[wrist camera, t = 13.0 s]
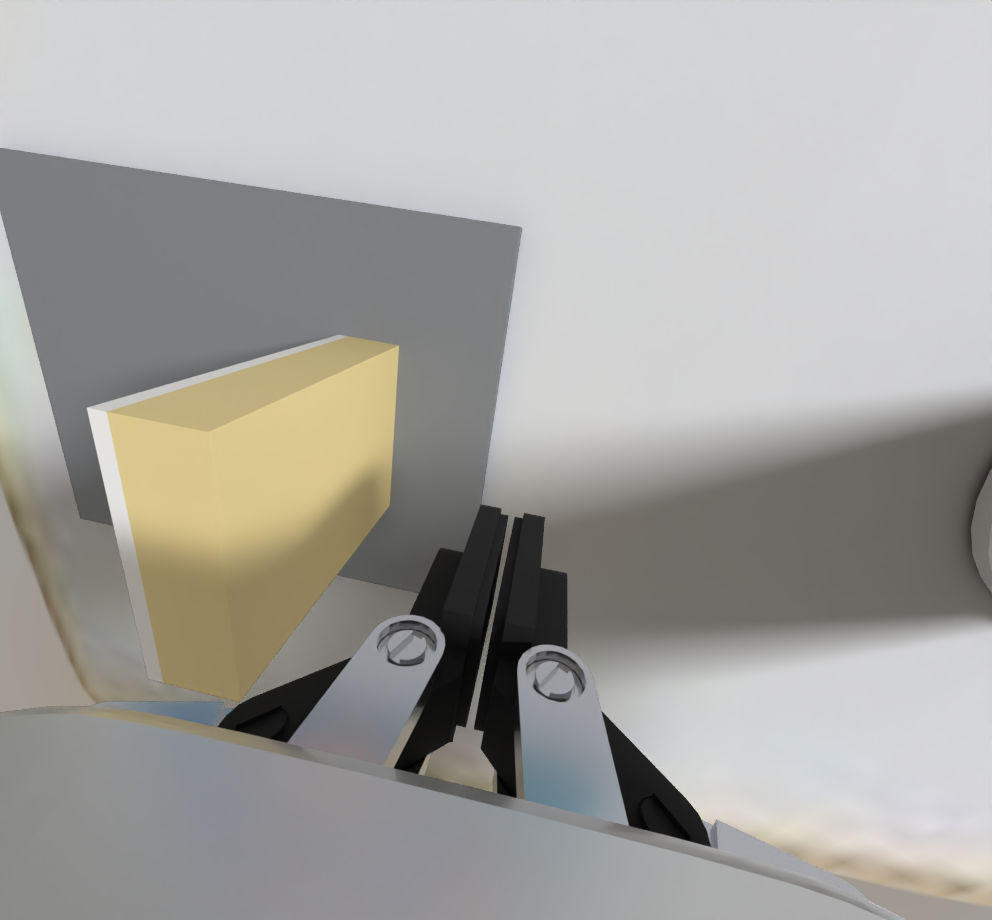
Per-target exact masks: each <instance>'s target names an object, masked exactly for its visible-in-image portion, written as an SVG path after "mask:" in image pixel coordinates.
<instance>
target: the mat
mask: <svg viewBox="0 0 992 920" xmlns="http://www.w3.org/2000/svg"><path fill="white" fill-rule="evenodd" d="M0 212H1V215H2V219H3V223H4V227H5V231H6V235H7V238H8V242H9V246H10V250H11V254H12V258H13V261H14V265H15V269H16V273H17V277H18V281H19V284H20V288H21V292H22V296H23V300H24V304H25V307H26V311H27V315H28V319H29V323H30V327H31V330H32V334H33V338H34V342H35V346H36V350H37V353H38V357H39V361H40V365H41V369H42V373H43V376H44V380H45V384H46V388H47V392H48V396H49V399H50V403H51V407H52V411H53V415H54V419H55V422H56V426H57V430H58V434H59V438H60V442H61V445H62V449H63V453H64V457H65V461H66V465H67V468H68V472H69V476H70V480H71V484H72V488H73V491H74V495H75V499H76V503H77V507H78V511H79V515H80V518H82V519H86V520H91V521H95V522H100V523H104V524H109V525H113V522H112V517H111V513H110V508H109V504H108V500H107V495H106V491H105V486H104V482H103V478H102V473H101V469H100V464H99V460H98V455H97V451H96V447H95V442H94V438H93V433H92V429H91V425H90V420H89V416H88V411H87V408H88V407H91V406H95V405H98V404H101V403H105V402H108V401H112V400H115V399H119V398H122V397H126V396H129V395H132V394H136V393H139V392H143V391H146V390H150V389H153V388H157V387H160V386H163V385H167V384H170V383H174V382H177V381H181V380H184V379H188V378H191V377H194V376H198V375H201V374H205V373H208V372H212V371H215V370H219V369H222V368H225V367H229V366H232V365H236V364H239V363H243V362H246V361H250V360H253V359H257V358H260V357H263V356H267V355H270V354H274V353H277V352H281V351H284V350H288V349H291V348H294V347H298V346H301V345H305V344H308V343H312V342H315V341H319V340H322V339H325V338H329V337H332V336H336V335H343V336H349V337H355V338H360V339H366V340H371V341H377V342H383V343H388V344H394V345H399V355H398V372H397V389H396V407H395V424H394V441H393V458H392V475H391V492H390V506H389V507H388V508H387V510H386V511H385V512H384V514H383V515H382V516H381V518H380V519H379V520H378V522H377V523H376V524H375V525H374V527H373V528H372V529H371V531H370V532H369V533H368V535H367V536H366V537H365V539H364V540H363V541H362V543H361V544H360V545H359V546H358V548H357V549H356V550H355V552H354V553H353V554H352V556H351V557H350V558H349V560H348V561H347V562H346V564H345V565H344V566H343V567H342V569H341V570H340V571H339V573H338V574H337V575H339V576H344V577H348V578H353V579H357V580H362V581H366V582H371V583H375V584H380V585H384V586H389V587H393V588H398V589H402V590H407V591H411V592H416V593H419V592H420V590H421V588H422V586H423V583H424V581H425V579H426V577H427V575H428V572H429V570H430V568H431V566H432V564H433V561H434V559H435V557H436V555H437V552H438V551H439V549H440V548H445V549H450V550H455V551H460V552H464V549H465V547H466V544H467V541H468V538H469V535H470V533H471V530H472V527H473V524H474V522H475V519H476V516H477V513H478V510H479V508H480V505H481V500H482V493H483V487H484V480H485V473H486V467H487V460H488V453H489V446H490V440H491V433H492V426H493V420H494V413H495V406H496V400H497V393H498V386H499V379H500V373H501V366H502V359H503V353H504V346H505V339H506V332H507V326H508V319H509V312H510V306H511V299H512V292H513V286H514V279H515V272H516V265H517V259H518V252H519V245H520V239H521V232H522V228H521V227H518V226H511V225H505V224H498V223H491V222H485V221H478V220H472V219H465V218H458V217H452V216H445V215H439V214H432V213H425V212H419V211H412V210H406V209H399V208H392V207H386V206H379V205H373V204H366V203H360V202H353V201H346V200H340V199H333V198H327V197H320V196H313V195H307V194H300V193H294V192H287V191H280V190H274V189H267V188H261V187H254V186H247V185H241V184H234V183H228V182H221V181H215V180H208V179H201V178H195V177H188V176H182V175H175V174H168V173H162V172H155V171H149V170H142V169H135V168H129V167H122V166H116V165H109V164H102V163H96V162H89V161H83V160H76V159H69V158H63V157H56V156H50V155H43V154H37V153H30V152H23V151H17V150H10V149H4V148H0Z"/></svg>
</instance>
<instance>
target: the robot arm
mask: <svg viewBox="0 0 992 920" xmlns="http://www.w3.org/2000/svg"><path fill="white" fill-rule="evenodd" d="M507 521H508V515H502V514H501V508H496V507H490V506H485V505H480V508H479V510H478V513H477V516H476V519H475V522H474V524H473V527H472V530H471V533H470V535H469V538H468V541H467V544H466V547H465V549H464V552H460V551H455V550H450V549H445V548H440V549H439V551H438V552H437V555H436V557H435V559H434V561H433V564H432V566H431V568H430V570H429V572H428V575H427V577H426V579H425V581H424V583H423V586H422V588H421V590H420V592H419V595H418V597H417V599H416V601H415V603H414V606H413V608H412V610H411V612H410V615H400V616H396V617H392V618H389V619H387V620H385V621H384V622H382V623H380V624H379V625H378V626H377V627H376V628H375V629H374V630H373V631H372V633H371V634H370V635H369V636H368V638H367V639H366V640H365V642H364V643H363V644H362V646H361V647H360V648H359V650H358V651H357V652H356V653H355V655H354V656H353V657H352V658H349V659H347V660H344V661H342V662H339V663H337V664H334V665H332V666H329V667H327V668H324V669H322V670H319V671H317V672H314V673H312V674H309V675H307V676H305V677H302V678H300V679H297V680H295V681H292V682H290V683H287V684H285V685H282V686H280V687H277V688H275V689H272V690H270V691H267V692H265V693H263V694H260V695H258V696H255V697H253V698H251V699H249V700H247V701H245V702H243V703H241V704H239V705H238V706H237V707H236V708H234V709H225V707H224V702H156V701H111V702H104V703H97V704H94V705H91V706H52V707H39V708H31V709H23V710H15V711H6V712H0V920H905V919H903V918H902V917H900V916H898V915H896V914H894V913H892V912H890V911H888V910H886V909H884V908H882V907H880V906H878V905H876V904H874V903H872V902H870V901H869V900H868V899H867V898H866V897H865V896H864V895H863V894H862V893H861V892H860V891H859V890H858V889H857V888H855V887H853V886H852V885H850V884H849V883H847V882H845V881H844V880H842V879H841V878H839V877H837V876H835V875H833V874H831V873H829V872H827V871H825V870H823V869H820V868H818V867H816V866H814V865H812V864H810V863H808V862H806V861H803V860H801V859H799V858H797V857H795V856H793V855H791V854H789V853H787V852H784V851H782V850H780V849H778V848H776V847H774V846H772V845H770V844H768V843H765V842H763V841H761V840H759V839H757V838H755V837H753V836H751V835H748V834H746V833H744V832H742V831H740V830H738V829H736V828H734V827H732V826H729V825H727V824H725V823H723V822H721V821H719V820H716V821H715V823H714V825H711V824H709V823H707V822H705V821H703V820H701V818H700V816H699V814H698V813H697V812H696V810H695V809H694V808H693V807H692V805H691V804H690V803H689V802H688V800H687V799H686V798H685V797H684V796H683V795H682V794H681V793H680V792H679V791H678V790H677V789H676V788H675V787H674V786H673V785H672V784H671V783H670V782H669V781H668V780H667V778H666V777H665V776H664V775H663V774H662V773H661V772H660V771H659V770H658V769H657V768H656V767H655V766H654V765H653V764H652V763H651V762H650V761H649V760H648V759H647V758H646V757H645V756H644V755H643V754H642V753H641V752H640V750H639V749H638V748H637V747H636V746H635V745H634V744H633V743H632V742H631V741H630V740H629V739H628V738H627V737H626V736H625V735H624V734H623V733H622V732H621V731H620V730H619V729H618V728H617V727H616V726H615V725H614V723H613V722H612V721H611V720H610V719H609V718H608V717H607V716H606V715H605V714H604V713H603V712H602V711H601V707H600V703H599V699H598V695H597V691H596V686H595V682H594V678H593V676H592V673H591V671H590V669H589V667H588V666H587V665H586V664H585V662H584V661H583V660H582V659H581V658H580V657H578V656H577V655H576V654H575V653H573V652H571V651H569V650H567V574H566V573H563V572H558V571H553V570H548V569H543V568H541V556H542V545H543V533H544V521H545V517H541V516H536V515H531V514H526V513H524V516H523V518H518V517H515V519H514V524H513V529H512V534H511V538H510V543H509V548H508V553H507V558H506V563H505V568H504V572H503V577H502V582H501V587H500V592H499V597H498V602H497V606H496V611H495V616H494V622H493V627H492V632H491V638H490V643H489V649H488V654H487V660H486V665H485V671H484V676H483V682H482V687H481V692H480V698H479V703H478V709H477V714H476V720H475V725H474V729H475V730H479V731H484V733H483V738H482V744H481V750H482V751H483V753H484V754H485V755H486V757H487V758H488V760H489V761H490V763H491V764H492V766H493V767H494V769H495V770H494V776H493V792H489V791H485V790H481V789H477V788H473V787H469V786H464V785H460V784H456V783H452V782H448V781H444V780H440V779H436V778H431V777H427V776H424V774H425V772H426V769H427V767H428V764H429V761H430V757H431V753H432V752H433V751H435V750H437V749H438V748H440V747H442V746H443V745H445V744H447V743H449V742H452V741H453V737H454V733H455V729H456V725H458V726H462V727H466V724H467V720H468V715H469V711H470V706H471V701H472V697H473V692H474V688H475V683H476V679H477V674H478V669H479V665H480V660H481V656H482V651H483V646H484V642H485V637H486V633H487V628H488V624H489V619H490V614H491V610H492V605H493V600H494V594H495V588H496V583H497V577H498V572H499V566H500V560H501V555H502V549H503V543H504V538H505V532H506V527H507ZM971 540H972V555H973V558H974V560H975V563H976V566H977V569H978V572H979V574H980V577H981V579H982V580H983V582H984V583H985V584H986V586H987V587H988V588H989V590H990V591H991V593H992V468H991V470H990V472H989V474H988V476H987V479H986V481H985V483H984V485H983V487H982V490H981V492H980V494H979V496H978V498H977V501H976V506H975V511H974V516H973V520H972V525H971Z"/></svg>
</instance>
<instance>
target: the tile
mask: <svg viewBox="0 0 992 920" xmlns="http://www.w3.org/2000/svg"><path fill="white" fill-rule="evenodd" d="M398 355H399V345H394V344H388V343H383V342H377V341H371V340H366V339H360V338H355V337H349V336H343V335H336V336H332V337H329V338H325V339H322V340H319V341H315V342H312V343H308V344H305V345H301V346H298V347H294V348H291V349H288V350H284V351H281V352H277V353H274V354H270V355H267V356H263V357H260V358H257V359H253V360H250V361H246V362H243V363H239V364H236V365H232V366H229V367H225V368H222V369H219V370H215V371H212V372H208V373H205V374H201V375H198V376H194V377H191V378H188V379H184V380H181V381H177V382H174V383H170V384H167V385H163V386H160V387H157V388H153V389H150V390H146V391H143V392H139V393H136V394H132V395H129V396H126V397H122V398H119V399H115V400H112V401H108V402H105V403H101V404H98V405H95V406H91V407H88V408H87V411H88V416H89V420H90V425H91V429H92V433H93V438H94V442H95V447H96V451H97V455H98V460H99V464H100V469H101V473H102V478H103V482H104V486H105V491H106V495H107V500H108V504H109V508H110V513H111V517H112V522H113V526H114V530H115V535H116V539H117V544H118V548H119V552H120V557H121V561H122V566H123V570H124V574H125V579H126V583H127V588H128V592H129V596H130V601H131V605H132V610H133V614H134V618H135V623H136V627H137V632H138V636H139V640H140V645H141V649H142V654H143V658H144V663H145V667H146V671H147V676H148V679H149V680H153V681H157V682H161V683H165V684H169V685H173V686H177V687H181V688H185V689H189V690H193V691H197V692H201V693H205V694H209V695H213V696H217V697H221V698H225V699H229V700H233V701H237V702H240V701H241V700H242V699H243V697H244V696H245V695H246V693H247V692H248V691H249V690H250V688H251V687H252V686H253V684H254V683H255V682H256V680H257V679H258V678H259V676H260V675H261V674H262V672H263V671H264V670H265V669H266V667H267V666H268V665H269V663H270V662H271V661H272V659H273V658H274V657H275V655H276V654H277V653H278V651H279V650H280V649H281V648H282V646H283V645H284V644H285V642H286V641H287V640H288V638H289V637H290V636H291V634H292V633H293V632H294V630H295V629H296V628H297V627H298V625H299V624H300V623H301V621H302V620H303V619H304V617H305V616H306V615H307V613H308V612H309V611H310V609H311V608H312V607H313V606H314V604H315V603H316V602H317V600H318V599H319V598H320V596H321V595H322V594H323V592H324V591H325V590H326V588H327V587H328V586H329V585H330V583H331V582H332V581H333V579H334V578H335V577H336V575H337V574H338V573H339V571H340V570H341V569H342V567H343V566H344V565H345V564H346V562H347V561H348V560H349V558H350V557H351V556H352V554H353V553H354V552H355V550H356V549H357V548H358V546H359V545H360V544H361V543H362V541H363V540H364V539H365V537H366V536H367V535H368V533H369V532H370V531H371V529H372V528H373V527H374V525H375V524H376V523H377V522H378V520H379V519H380V518H381V516H382V515H383V514H384V512H385V511H386V510H387V508H388V507H389V506H390V492H391V475H392V458H393V441H394V424H395V407H396V389H397V372H398Z"/></svg>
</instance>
